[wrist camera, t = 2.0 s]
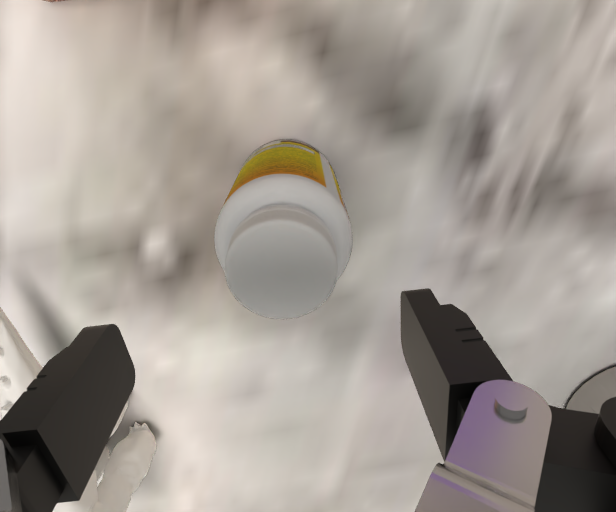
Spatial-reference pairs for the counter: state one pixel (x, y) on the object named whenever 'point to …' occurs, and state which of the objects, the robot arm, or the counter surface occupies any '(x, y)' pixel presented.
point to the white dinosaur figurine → (125, 456)
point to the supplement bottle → (283, 231)
